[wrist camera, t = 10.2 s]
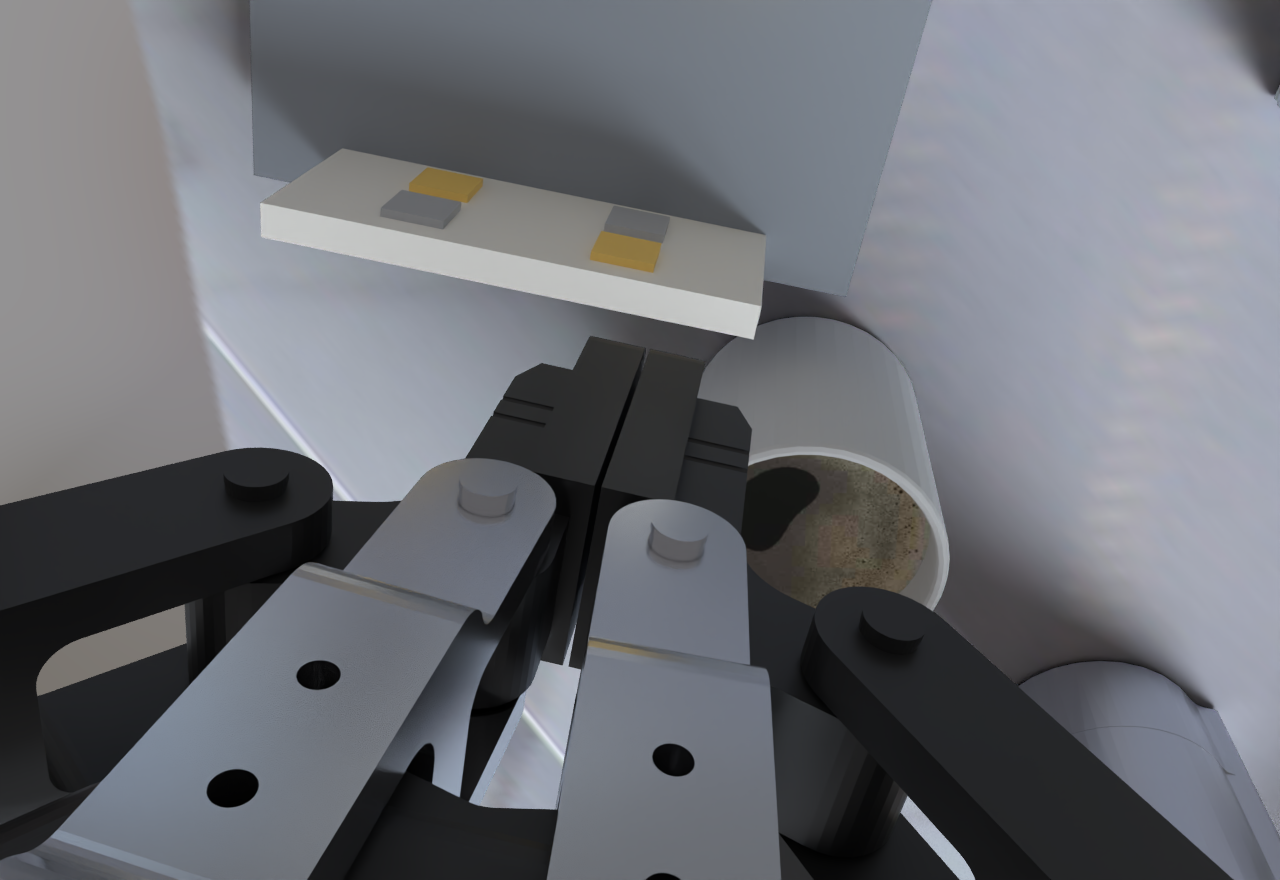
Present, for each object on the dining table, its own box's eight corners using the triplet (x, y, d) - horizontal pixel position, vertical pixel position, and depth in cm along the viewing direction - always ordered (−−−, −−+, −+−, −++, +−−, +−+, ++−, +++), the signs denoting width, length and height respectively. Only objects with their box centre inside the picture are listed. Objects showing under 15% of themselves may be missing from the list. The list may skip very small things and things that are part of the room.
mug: (823, 268, 38) (832, 391, 29) (971, 444, 41) (1020, 602, 32) (611, 429, 43) (566, 575, 34) (758, 577, 45) (750, 747, 37)
